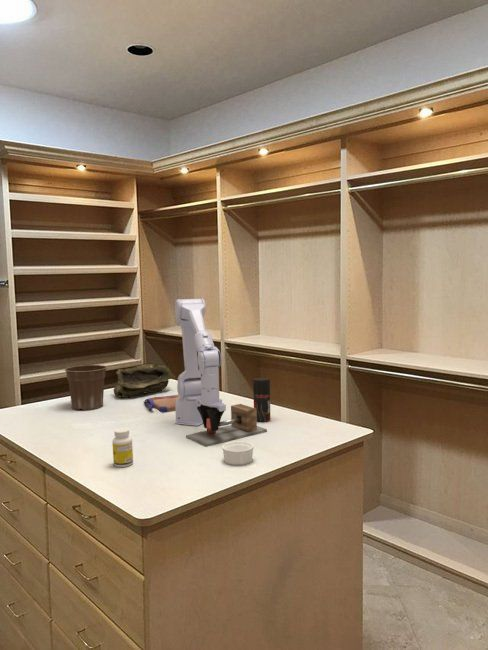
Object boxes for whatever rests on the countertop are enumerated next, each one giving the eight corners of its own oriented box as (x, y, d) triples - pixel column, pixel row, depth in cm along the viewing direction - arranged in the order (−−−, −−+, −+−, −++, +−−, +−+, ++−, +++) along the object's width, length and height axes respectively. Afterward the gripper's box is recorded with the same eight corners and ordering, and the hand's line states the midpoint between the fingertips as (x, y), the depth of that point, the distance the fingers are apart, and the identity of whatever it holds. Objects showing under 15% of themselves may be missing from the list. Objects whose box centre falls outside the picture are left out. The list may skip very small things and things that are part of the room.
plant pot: (95, 400, 229) (93, 362, 228) (116, 406, 218) (114, 367, 217) (59, 407, 218) (57, 368, 216) (79, 414, 207) (77, 372, 205)
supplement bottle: (115, 461, 153) (113, 427, 152) (134, 460, 154) (132, 426, 153) (112, 468, 148) (110, 433, 147) (132, 467, 148) (130, 432, 147)
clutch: (219, 406, 217) (200, 396, 235) (219, 394, 217) (200, 385, 234) (153, 416, 204) (137, 404, 221) (152, 403, 204) (137, 393, 221)
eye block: (205, 446, 165) (204, 421, 164) (185, 437, 174) (185, 413, 173) (266, 431, 179) (266, 408, 178) (245, 424, 188) (244, 401, 188)
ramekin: (260, 461, 151) (259, 446, 150) (233, 468, 146) (232, 453, 145) (242, 453, 158) (242, 439, 158) (216, 459, 153) (216, 444, 153)
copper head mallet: (209, 435, 171) (209, 419, 170) (204, 433, 173) (204, 417, 173) (254, 424, 181) (254, 409, 181) (249, 423, 184) (249, 408, 183)
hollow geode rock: (170, 398, 250) (159, 372, 257) (180, 383, 242) (168, 356, 249) (113, 407, 233) (103, 378, 241) (121, 390, 225) (111, 361, 233)
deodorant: (269, 422, 189) (268, 380, 188) (252, 422, 191) (251, 380, 189) (271, 418, 195) (271, 377, 194) (255, 417, 196) (254, 377, 195)
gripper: (233, 389, 168) (234, 431, 169) (208, 382, 180) (209, 422, 181) (214, 392, 164) (215, 436, 165) (190, 385, 175) (191, 425, 177)
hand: (211, 429), depth 173 cm, fingers open, 4 cm apart
